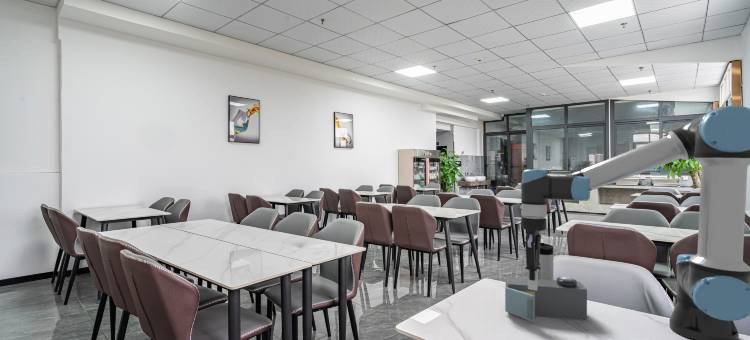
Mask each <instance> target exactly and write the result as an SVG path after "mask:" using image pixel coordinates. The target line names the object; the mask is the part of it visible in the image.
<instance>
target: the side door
mask: <svg viewBox="0 0 750 340" xmlns="http://www.w3.org/2000/svg"><path fill="white" fill-rule="evenodd" d="M504 288H505V290H504V296H505V298H504V299H505V300H504V306H505V307H504V309H505V312H506V313H507V314H509V313H511V314H510V315H514V316H517V317H519V318H522V319H524V320H527V321H530V322H535V321H536V316H535V296H534V295H531V294H528V293H525V292H521V291H518V290H515V289H511V288H508V287H506V286H505V287H504Z"/></svg>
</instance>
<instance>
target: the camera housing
mask: <svg viewBox="0 0 750 340" xmlns="http://www.w3.org/2000/svg"><path fill="white" fill-rule="evenodd" d="M506 287H508V288H511V289H515V290H518V291H521V292H525V293H528V294H531V295H534V296H535V317H545V318H555V319H566V320H568V319H569V320H577V321H578V320H579V321H588V289H587V288H586V287H585V286H584V285H583V284H582V283H581V282H580V281H577V280H576V279H574V278H572V277H570V276H560V277H556V279H555V280H554V279H553V280H543V279H538V290H537V291H535V290H530V289H528V277H527V278H525V277H512V276H511V277H510V276H505V288H506ZM508 314H509V315H512V314H511V313H508Z"/></svg>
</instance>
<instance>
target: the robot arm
mask: <svg viewBox="0 0 750 340" xmlns="http://www.w3.org/2000/svg"><path fill="white" fill-rule="evenodd" d="M691 159H694V160H695V161H696V162H698V164H700V166H701V170H700V194H699V210H698V211H699V212H698V213H699V214H698V215H699V216H698V234H697V236H698V238H697V253H696V254H690V253H688V254H687V253H683V254H678V255H677V257H676V263H675V265H676V304H675V306H674V309H673V310H672V313H671V315H670V318H669V328H670V329H671V331H673V332H674V333H677V334H678V335H680V336H682V337H684V338H687V339H690V338H691V339H690V340H693V339H696V340H738V339H739V340H740V338H739V337H740V334H739V331H738V328H737V326H736V324H735V322H734V321H739V320H740V321H741V320H742V319H745V318H747V317H749V316H750V266H749V265H748V264H747V263H746V262H744V245H745V244H744V242H745V221H746V219H745V218H746V201H747V199H746V198H747V182H748V167H749V166H750V108H749V107H746V106H743V105H726V106H720V107H716V108H714V109H712V110H710V111H708V112H707V113H704V114H701V115H699V116H698V117H696V118H694V119H693V120H691V121H689V122H688V123H685V124H683V125H682V126H680V127H678V128H675V129H673V130H671V131H669V132H668V134H667V136H664V137H662V138H659V139H655V140H654V141H652V142H649V143H646V144H644V145H641V146H638V147H636V148H633V149H631V150H629V151H626V152H623V153H621V154H618V155H616V156H613V157H611V158H608V159H606V160H605V159H604V160H602V161H601V162H598V163H596V164H592V165H590V166H587V167H585V168H582V169H581V170H578V171H575V172H572V173H570V174H566V175H558V176H557V175H555V176H554V175H548V171H547V170H546V169H524V170H522V173H521V184H520V185H521V190H520V191H521V192H520V193H521V198H520V199H521V201H520V203H521V204H520V205H519V209H520V210H521V211H520V213H521V216H522V217H520V228H521V229H522V230H526V231H527V233H526V234H525V241H524V246H525V259H526V260H525V263H526V266H525V270H527V278H528V289H530V290H535V291H537V290H538V269H540V268H541V267H538V266H539V258H540V243H542V242H541V241H542V235H541V234H540V232H543V231H546V230H547V219H546V217H547V215H548V213H547V212H548V211H547V209H548V207H547V206H548V205H547V200H557V201H575V202H588V201H590V199H591V191H594V190H597V189H600V188H602V187H605V186H608V185H611V184H614V183H616V182H619V181H623V180H625V179H628V178H631V177H634V176H635V175H639V174H641V173H644V172H648V171H651V170H653V169H655V168H658V167H661V166H664V165H667V164H669V163H672V162H675V161H678V160H684V161H688V160H691Z"/></svg>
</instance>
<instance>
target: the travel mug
mask: <svg viewBox="0 0 750 340" xmlns="http://www.w3.org/2000/svg"><path fill="white" fill-rule="evenodd" d="M538 267H541V268H540V269H538V279H543V280H554V245H552V244H548V243H544V242H540V258H539V266H538Z"/></svg>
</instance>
